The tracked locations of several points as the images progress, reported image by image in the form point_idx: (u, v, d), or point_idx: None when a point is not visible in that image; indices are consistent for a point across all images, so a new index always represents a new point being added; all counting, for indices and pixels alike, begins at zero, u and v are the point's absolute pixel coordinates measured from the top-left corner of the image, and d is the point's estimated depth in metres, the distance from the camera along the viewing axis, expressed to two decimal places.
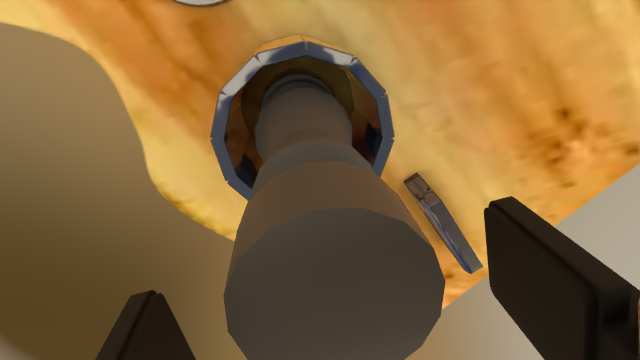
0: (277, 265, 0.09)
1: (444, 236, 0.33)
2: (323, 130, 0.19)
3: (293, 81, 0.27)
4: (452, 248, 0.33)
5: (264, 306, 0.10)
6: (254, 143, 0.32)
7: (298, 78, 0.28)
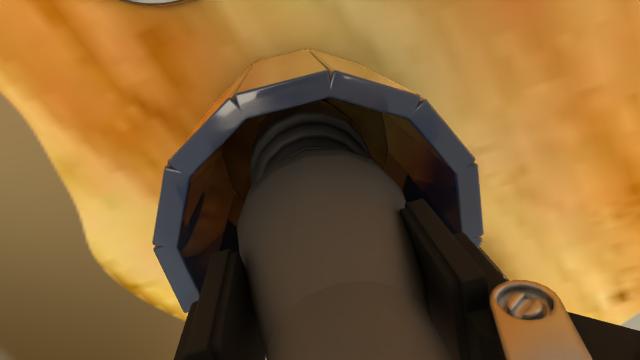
0: None
1: None
2: (386, 282, 0.08)
3: (303, 127, 0.17)
4: None
5: None
6: None
7: (310, 119, 0.18)
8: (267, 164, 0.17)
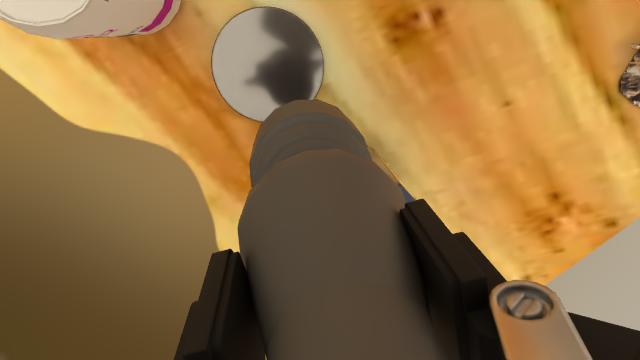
0: None
1: None
2: (386, 283, 0.08)
3: (303, 128, 0.17)
4: None
5: None
6: None
7: (310, 120, 0.18)
8: (268, 164, 0.17)
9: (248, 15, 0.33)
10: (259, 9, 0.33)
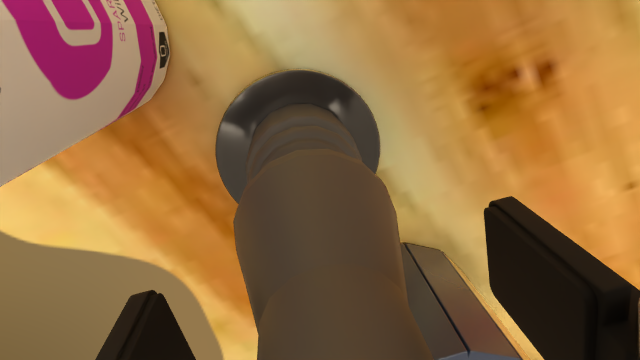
0: None
1: None
2: (365, 265, 0.09)
3: (296, 130, 0.18)
4: None
5: None
6: None
7: (303, 122, 0.19)
8: (262, 164, 0.18)
9: (270, 83, 0.22)
10: (287, 74, 0.22)
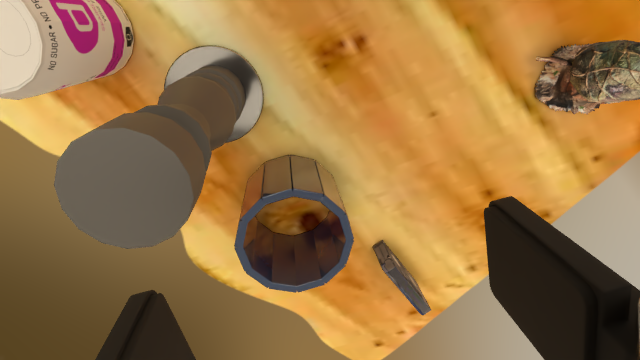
0: (82, 164, 0.16)
1: (400, 290, 0.45)
2: (188, 105, 0.26)
3: (196, 74, 0.34)
4: (407, 298, 0.46)
5: (80, 192, 0.16)
6: (261, 229, 0.45)
7: (204, 72, 0.35)
8: None
9: (192, 54, 0.38)
10: (201, 48, 0.38)
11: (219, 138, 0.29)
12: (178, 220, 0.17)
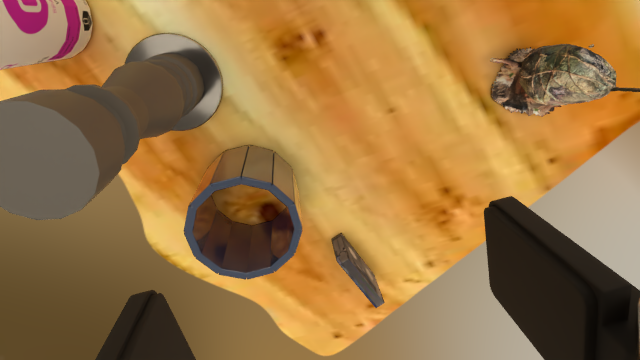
0: None
1: (354, 282, 0.46)
2: (126, 87, 0.26)
3: (150, 60, 0.35)
4: (361, 290, 0.47)
5: None
6: (220, 217, 0.46)
7: (159, 59, 0.36)
8: None
9: (151, 41, 0.39)
10: (160, 35, 0.39)
11: (162, 122, 0.29)
12: (85, 194, 0.18)
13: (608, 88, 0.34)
